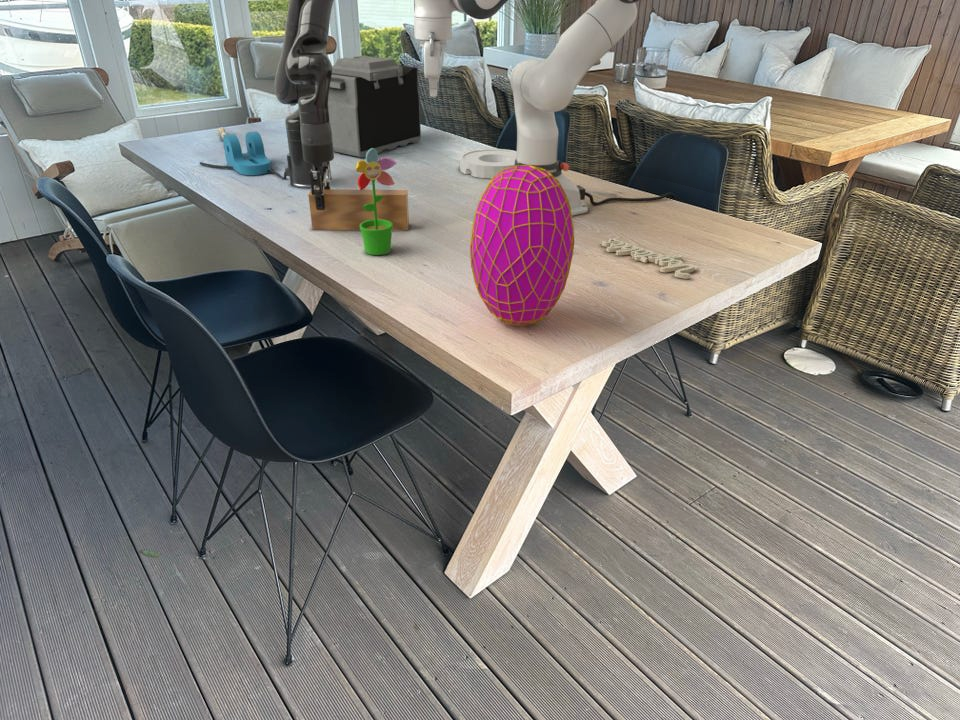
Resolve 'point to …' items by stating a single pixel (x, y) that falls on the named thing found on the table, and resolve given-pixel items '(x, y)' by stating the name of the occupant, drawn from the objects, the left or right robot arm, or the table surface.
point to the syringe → (222, 133)
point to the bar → (359, 209)
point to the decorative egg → (522, 244)
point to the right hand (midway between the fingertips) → (434, 92)
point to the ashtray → (486, 162)
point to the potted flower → (377, 229)
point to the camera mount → (246, 154)
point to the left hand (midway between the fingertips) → (324, 204)
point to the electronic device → (373, 105)
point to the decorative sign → (651, 257)
